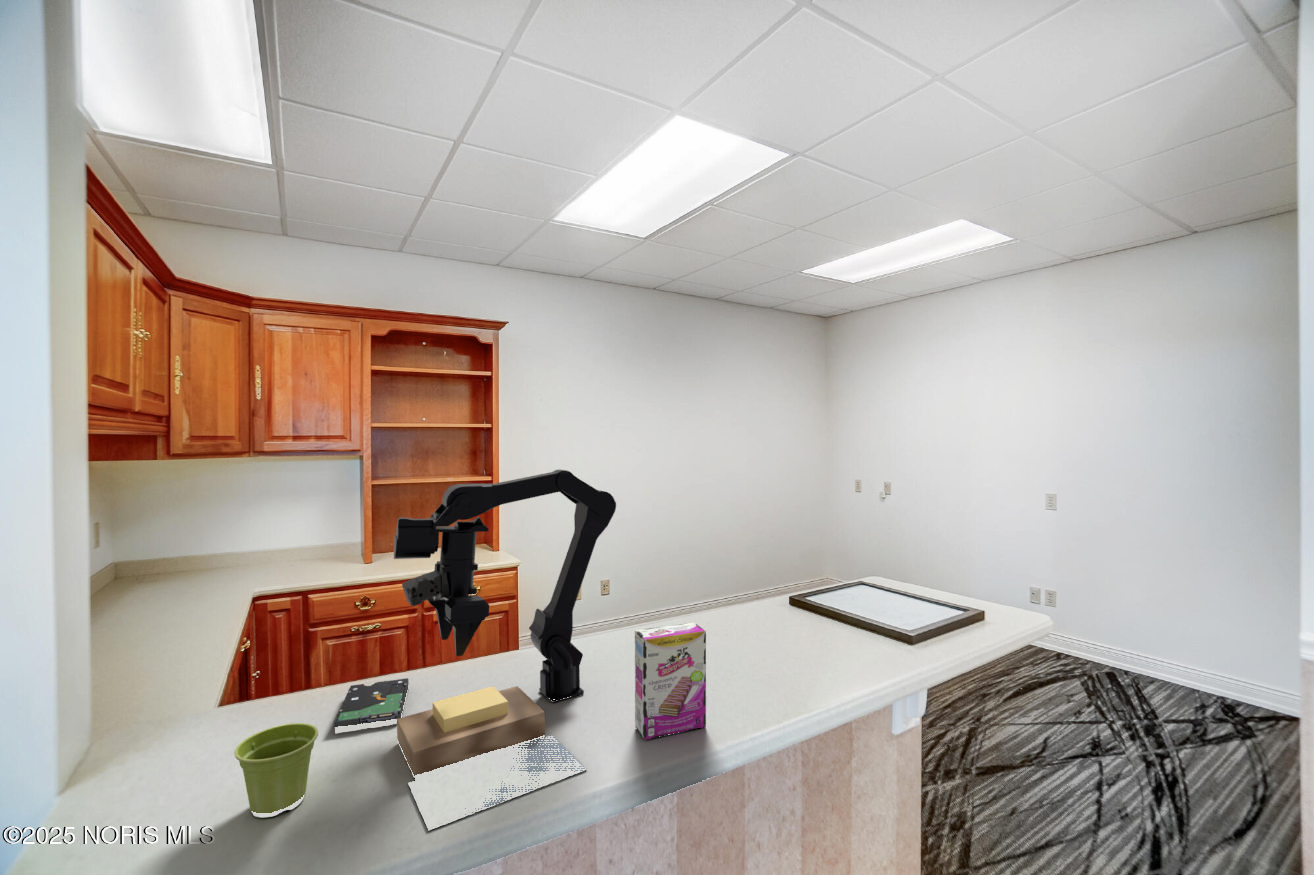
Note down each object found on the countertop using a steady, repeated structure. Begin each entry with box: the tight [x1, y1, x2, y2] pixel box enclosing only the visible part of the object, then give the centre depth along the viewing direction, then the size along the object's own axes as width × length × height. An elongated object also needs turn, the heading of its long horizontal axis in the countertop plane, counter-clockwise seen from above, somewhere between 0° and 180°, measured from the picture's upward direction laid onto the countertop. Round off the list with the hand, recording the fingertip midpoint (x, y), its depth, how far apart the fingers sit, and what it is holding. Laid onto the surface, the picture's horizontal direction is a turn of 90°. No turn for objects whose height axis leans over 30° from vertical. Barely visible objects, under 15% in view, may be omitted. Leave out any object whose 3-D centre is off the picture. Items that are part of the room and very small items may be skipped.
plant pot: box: [234, 722, 319, 813], centre depth 78 cm, size 9×9×9 cm
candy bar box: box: [634, 622, 707, 741], centre depth 96 cm, size 11×5×16 cm, turn 111°
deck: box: [396, 685, 546, 776], centre depth 93 cm, size 20×12×4 cm, turn 125°
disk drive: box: [333, 677, 410, 728], centre depth 104 cm, size 10×3×15 cm
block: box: [432, 686, 508, 733], centre depth 94 cm, size 10×7×2 cm
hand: (451, 647), depth 101 cm, fingers open, 9 cm apart
